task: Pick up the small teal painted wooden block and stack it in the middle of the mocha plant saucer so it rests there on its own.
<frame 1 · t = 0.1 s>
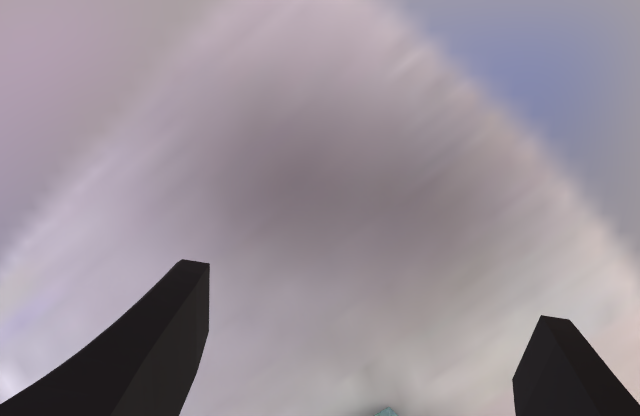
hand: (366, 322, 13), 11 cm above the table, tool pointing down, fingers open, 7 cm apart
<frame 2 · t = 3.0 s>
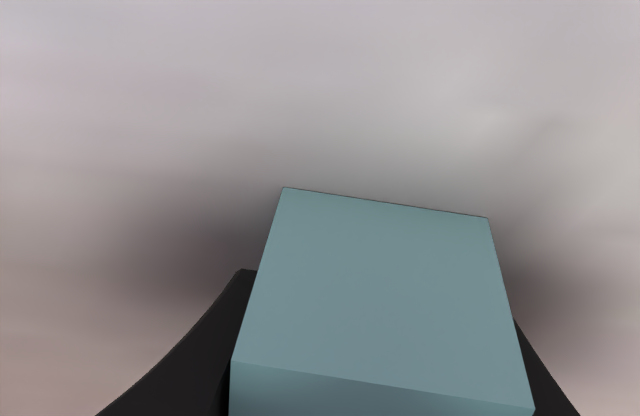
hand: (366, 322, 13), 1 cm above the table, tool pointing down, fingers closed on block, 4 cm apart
block: (368, 280, 14), on the table, touching gripper
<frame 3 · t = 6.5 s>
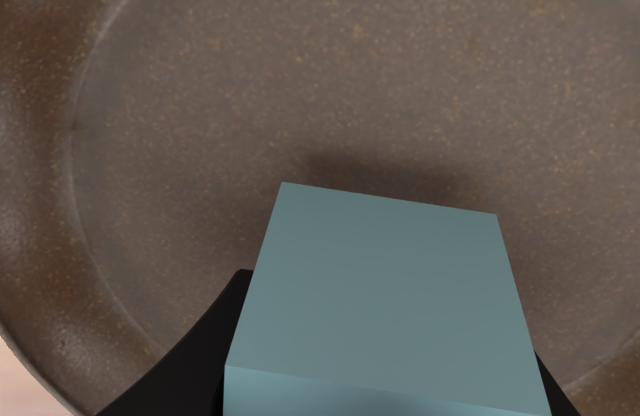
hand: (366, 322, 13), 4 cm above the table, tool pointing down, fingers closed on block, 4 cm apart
plant saucer: (371, 210, 16), on the table, touching block
block: (370, 280, 13), point 3 cm above the table, touching gripper, plant saucer
when the fingers open (4 cm above the table, at t = 7.1 s): block stays where it is, resting on plant saucer.
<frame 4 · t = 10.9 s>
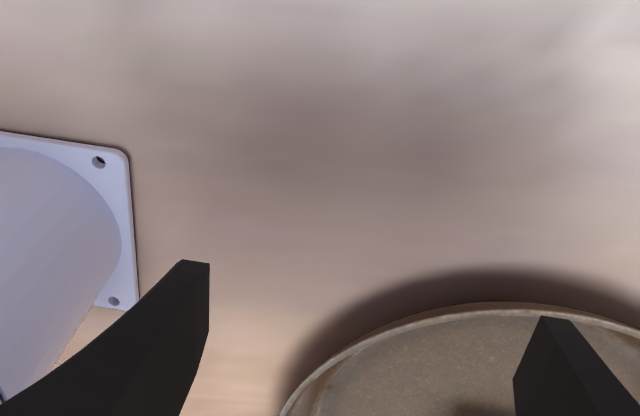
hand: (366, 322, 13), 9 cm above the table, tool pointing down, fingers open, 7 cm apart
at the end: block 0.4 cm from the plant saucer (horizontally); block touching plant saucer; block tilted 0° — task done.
